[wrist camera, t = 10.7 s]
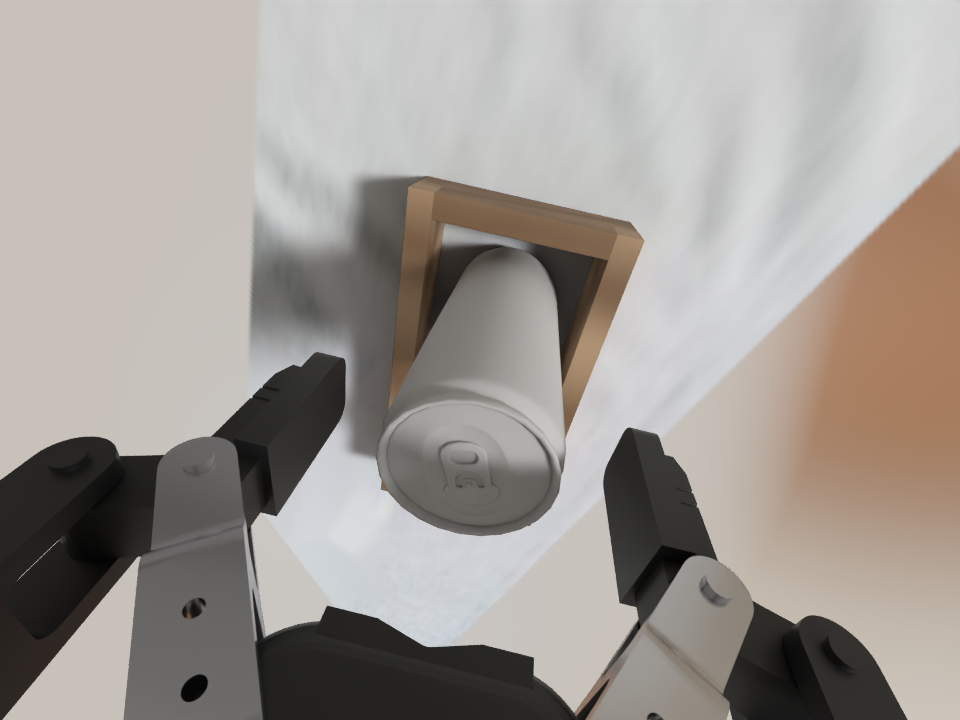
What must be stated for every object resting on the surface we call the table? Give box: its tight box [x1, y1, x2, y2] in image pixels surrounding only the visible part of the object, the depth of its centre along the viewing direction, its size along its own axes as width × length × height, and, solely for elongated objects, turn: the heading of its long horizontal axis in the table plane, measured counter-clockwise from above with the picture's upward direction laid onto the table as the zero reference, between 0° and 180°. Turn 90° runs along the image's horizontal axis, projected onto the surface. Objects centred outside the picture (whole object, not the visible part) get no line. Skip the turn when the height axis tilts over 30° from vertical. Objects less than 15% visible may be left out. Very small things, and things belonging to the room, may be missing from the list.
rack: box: [381, 176, 644, 526], centre depth 21 cm, size 17×9×3 cm, turn 169°
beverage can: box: [376, 248, 566, 536], centre depth 15 cm, size 5×5×12 cm
